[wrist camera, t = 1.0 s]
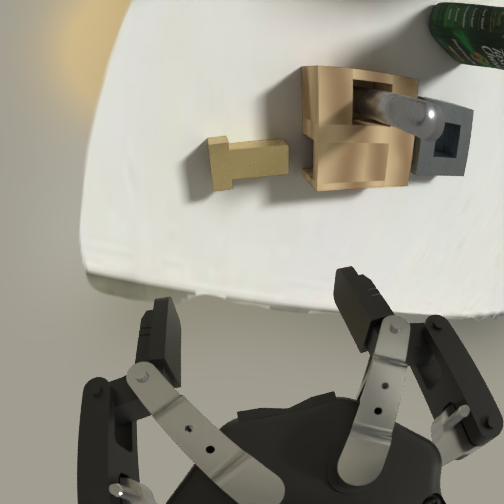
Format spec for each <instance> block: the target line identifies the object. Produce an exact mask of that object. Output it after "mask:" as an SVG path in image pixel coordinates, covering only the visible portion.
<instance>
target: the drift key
mask: <svg viewBox="0 0 504 504" xmlns="http://www.w3.org/2000/svg"><path fill="white" fill-rule="evenodd" d="M208 149H209V157H210V166H211V174H212V182H213V191H222V190H230V189H233V184H232V180H233V179H242V178H252V177H261V176H272V175H283V174H289V156H288V144H286V143H285V142H284V141H283V140H282V139H273V140H259V141H248V142H237V143H229V142H228V139H227V136H220V137H211V138H208Z"/></svg>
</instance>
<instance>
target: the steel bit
mask: <svg viewBox="0 0 504 504" xmlns="http://www.w3.org/2000/svg"><path fill="white" fill-rule="evenodd" d="M352 112H354V113H357V114H360V115H363V116H366V117H368V118H371V119H374V120H377V121H379V122H382V123H385V124H387V125H390V126H392V127H395V128H397V129H400V130H402V131H405V132H407V133H409V134H412V135H414V136H416V137H419V138H421V139H423V140H425V141H428V142H432V141H435V140H437V139H438V138H439V137H440V136H441V134H442V132H443V130H444V126H445V117H444V114H443V111H442V109H441V108H440V107H439V106H438V105H437V104H435V103H433V102H429V101H425V100H422V99H418V98H414V97H410V96H406V95H401V94H397V93H392V92H387V91H382V90H377V89H371V88H365V87H359V86H353V108H352Z"/></svg>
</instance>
